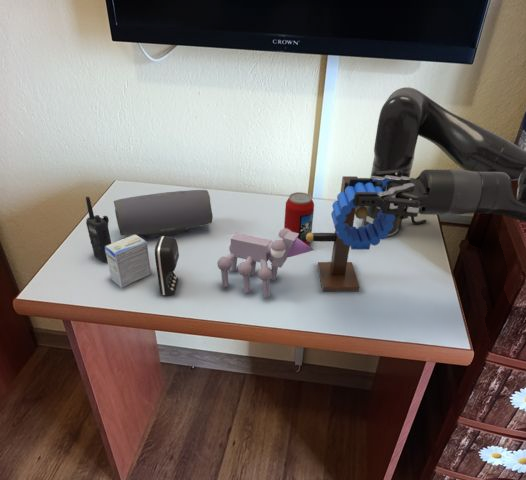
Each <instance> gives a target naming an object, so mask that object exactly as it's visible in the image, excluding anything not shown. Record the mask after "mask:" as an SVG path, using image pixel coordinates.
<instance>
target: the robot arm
mask: <svg viewBox="0 0 526 480" xmlns="http://www.w3.org/2000/svg"><path fill="white" fill-rule="evenodd" d="M375 133H376V134H375V139H374V146H373V161H372V166H371V172H370V176H369V177H358V178H350V179H349V183H348V186H353V187H354V186H355V184H356V183H359V182H361V183H363V184H364V185H365V184H366V183H372V184H373V185H374V187H376V186H380V187H381V188H382V190H383V192H379V193H378V195H377V193H376V192H356V193H355V194H354V200H353V203H354V205H355V206H366V207H367V209H368V215H367V217H366V218H364V219H362V222H361V226H362V227H366V225H367V224H369V223H372V224H373V220H374V219H375V218H378V212H379V211H380V209H382V211H381V212H382V213H384V214H392V215H395V220H394V221H393V222H392V224H393V229H392V230H391V231H389V232H388V236H387V238H388V237H392V236H395V235H396V234H397V233H398V232H399V230H401V227H402V223H403V220H406V219H408V218H409V217H410V219H411V223H412V224H414V225H421V224H424V223H427V219H422V220H418V221H416V220H415V218H417V217H418V215H423V216H424V215H429V216H430V215H432V216H433V215H437V216H438V215H439V216H442V215H445V216H446V215H447V216H453V215H454V216H456V215H457V216H458V215H468V214H489V215H490V214H492V215H500V216H504V217H508V218H511V219H514V220H517V221H519V222H523V223H526V150H525V149H523V148H522V147H520V146H519V145H517V144H515V143H513V142H512V141H510V140H508V139H506V138H504V137H502V136H500V135H499V134H498V133H495V132H494V131H492V130H489V129H486V128H485V127H483V126H480V125H479V124H476V123H474V122H472V121H470V120H468V119H466V118H464V117H462V116H459V115H457V114H455V113H453V112H451V111H450V110H448V109H446V108H444V107H443V106H441V105H440V104H439V103H437V102H436V101H434V100H433V99H432V98H430V97H428V96H427V95H426V94H425V93H424V92H421V91H420V90H418V89H416V88H414V87H409V86H408V87H407V86H406V87H400V88H398V89H396V90H394V91H393V92H392V93H391V94H390V95H389V96H388V98H387V99H386V101H385V103H383V105H382V106H381V109H380V112H379V116H378V121H377V127H376V132H375ZM419 137H422V138H424V139H425V140H427V141H429V142H430V143H432V144H434V145H435V146H436V147H438V148H439V149H440V150H441V152H443V153H444V155H446V156H447V157H448V158H449V160H451V161H452V162H453V163H454V164H456V166H458V167H460V169H424V170H422V171H421V172H420V174H419V175H418V176H417V177H416V178H414V177H410V176H411V173H412V168H413V164H414V160H415V151H416V147H417V144H418V143H417V142H418V139H419ZM513 181H517V191H516V196H515V193H514V189H513V188H514V187H513V183H512V182H513Z"/></svg>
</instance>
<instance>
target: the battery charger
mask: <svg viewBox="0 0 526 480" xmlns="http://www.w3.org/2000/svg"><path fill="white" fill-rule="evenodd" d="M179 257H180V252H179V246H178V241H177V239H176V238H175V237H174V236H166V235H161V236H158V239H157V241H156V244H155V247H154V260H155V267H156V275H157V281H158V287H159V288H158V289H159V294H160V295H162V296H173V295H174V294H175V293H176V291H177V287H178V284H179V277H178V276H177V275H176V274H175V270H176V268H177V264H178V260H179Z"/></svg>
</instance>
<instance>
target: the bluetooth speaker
mask: <svg viewBox="0 0 526 480" xmlns="http://www.w3.org/2000/svg"><path fill="white" fill-rule="evenodd" d="M113 205H114V212H115V213H114V214H115V218H116V224H117V228H118V231H119V236H132V235H134V234H135V235H137V236H138V235H145V236H146V237H161V236H168V235H174V234H176V235H177V234H180V233H184V232H187V230H188V229H192V228H196V227H201V226H205V225H209V224H212V223H213V219H214V218H213V217H214V216H213V211H212V204H211V196H210V194H209V191H208V190H207V189H191V190H189V189H188V190H178V191H177V190H176V191H167V192H158V193H150V194H143V195H135V196H131V197H124V198H120V199H115V200H113Z"/></svg>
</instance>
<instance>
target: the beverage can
mask: <svg viewBox="0 0 526 480" xmlns="http://www.w3.org/2000/svg"><path fill="white" fill-rule="evenodd" d="M314 212H315V203H314V200H313V196H311V194H310V193H306V192H301V191H299V192H293V193H291V194H289V196H288V198H287V200H286V201H285V211H284V226H283V229H289V230H291V232H295V233H299V235H298V237H297V238H298V239H300V240H301V241H302V242H304V243H305V244H307V245H308V246H309V244H310V243H311V242H308V241H307V240H306V235H307V233H309V232H312V233H313V231H312V230H313V222H314Z"/></svg>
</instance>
